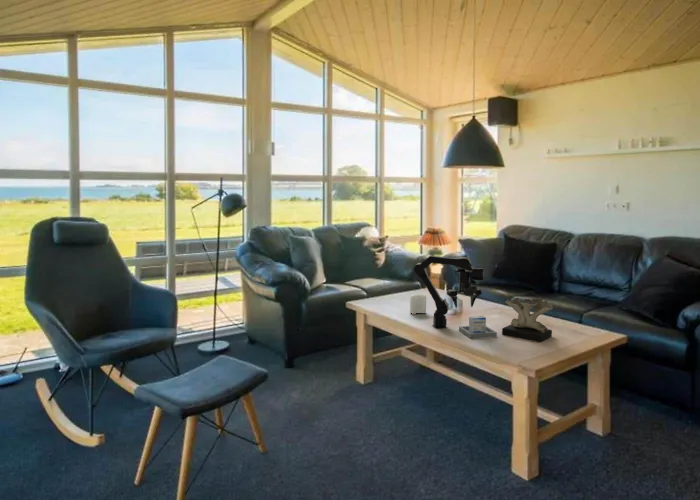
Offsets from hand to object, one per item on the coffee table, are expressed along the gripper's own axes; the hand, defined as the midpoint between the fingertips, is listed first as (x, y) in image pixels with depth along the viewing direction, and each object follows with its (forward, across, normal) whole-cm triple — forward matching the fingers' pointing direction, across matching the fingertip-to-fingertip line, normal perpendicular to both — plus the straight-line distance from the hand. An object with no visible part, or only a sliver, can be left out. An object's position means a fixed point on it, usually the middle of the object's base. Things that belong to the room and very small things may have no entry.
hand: (464, 307), depth 287 cm
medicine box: (+12, +3, -11) cm, 17 cm away
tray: (+12, +3, -12) cm, 17 cm away
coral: (+12, +25, -24) cm, 37 cm away
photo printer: (+12, -14, +38) cm, 42 cm away
